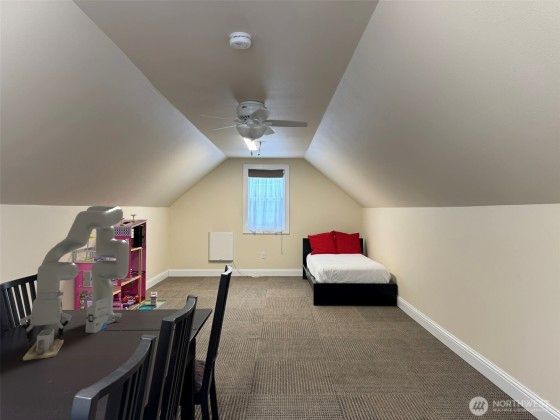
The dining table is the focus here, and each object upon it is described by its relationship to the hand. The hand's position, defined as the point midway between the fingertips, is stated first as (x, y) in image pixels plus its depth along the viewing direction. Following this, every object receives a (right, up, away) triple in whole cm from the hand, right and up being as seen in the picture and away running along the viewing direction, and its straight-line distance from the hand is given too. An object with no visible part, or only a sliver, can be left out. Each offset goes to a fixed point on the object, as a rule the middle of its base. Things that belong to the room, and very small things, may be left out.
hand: (45, 339), depth 130 cm
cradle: (0, -5, 0) cm, 4 cm away
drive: (0, -4, 0) cm, 4 cm away
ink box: (+6, -6, +25) cm, 27 cm away
